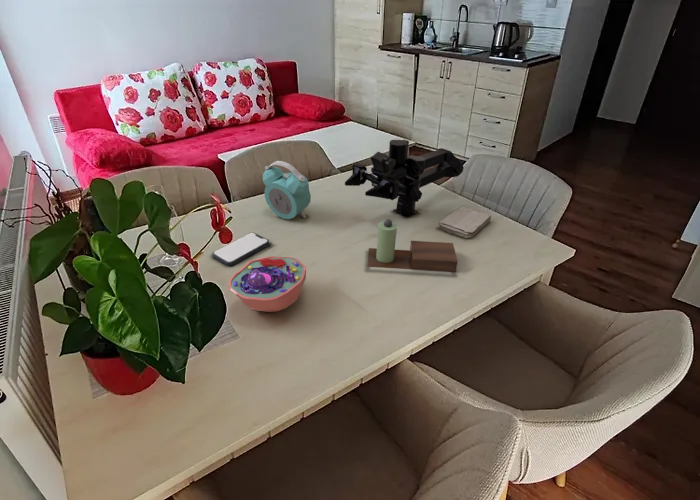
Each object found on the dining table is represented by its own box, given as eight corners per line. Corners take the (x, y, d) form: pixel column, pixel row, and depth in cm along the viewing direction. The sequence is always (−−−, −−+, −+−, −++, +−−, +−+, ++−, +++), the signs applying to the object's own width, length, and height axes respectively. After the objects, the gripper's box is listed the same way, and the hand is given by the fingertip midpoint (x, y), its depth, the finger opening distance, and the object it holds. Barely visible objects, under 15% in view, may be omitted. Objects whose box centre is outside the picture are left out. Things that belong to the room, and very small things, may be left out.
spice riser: (368, 252, 133) (369, 238, 130) (450, 256, 132) (453, 242, 129) (367, 270, 124) (368, 256, 122) (455, 276, 123) (457, 261, 120)
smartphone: (230, 268, 124) (271, 245, 134) (229, 263, 123) (270, 240, 133) (210, 257, 128) (252, 235, 139) (209, 252, 127) (251, 231, 138)
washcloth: (436, 229, 145) (437, 221, 144) (459, 210, 158) (461, 203, 156) (469, 241, 140) (470, 233, 138) (490, 220, 152) (492, 213, 150)
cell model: (322, 299, 113) (322, 263, 107) (258, 337, 101) (254, 299, 95) (282, 271, 123) (279, 237, 117) (219, 303, 110) (213, 266, 104)
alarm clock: (316, 216, 151) (315, 162, 140) (299, 227, 144) (297, 171, 133) (278, 203, 158) (274, 151, 147) (260, 213, 151) (255, 159, 141)
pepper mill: (385, 251, 130) (388, 213, 124) (397, 258, 127) (401, 220, 120) (372, 257, 128) (375, 219, 121) (385, 265, 124) (388, 226, 117)
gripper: (371, 143, 142) (334, 155, 133) (414, 159, 130) (377, 173, 122) (370, 174, 148) (335, 187, 139) (411, 192, 136) (376, 208, 128)
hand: (355, 188), depth 132 cm, fingers open, 9 cm apart
